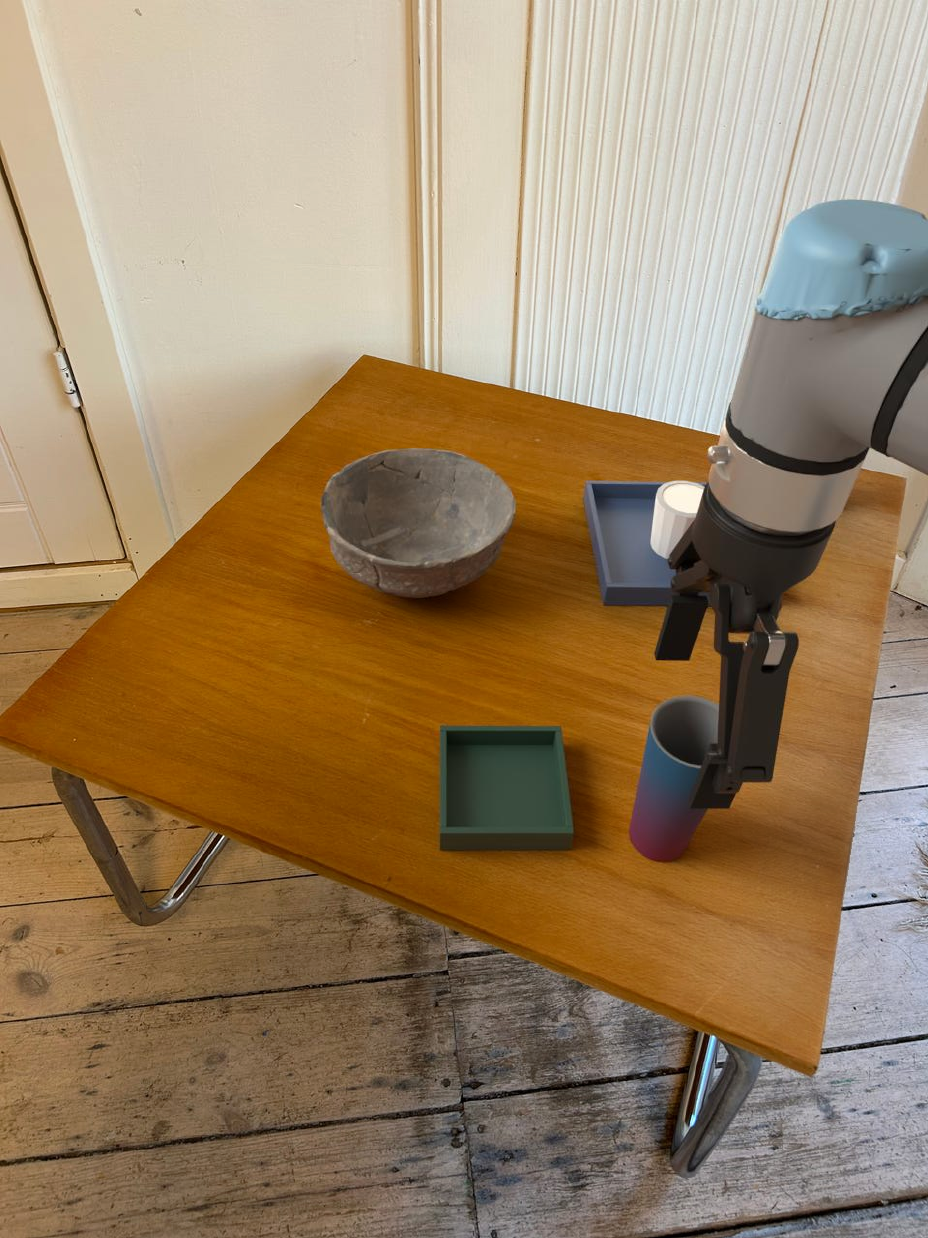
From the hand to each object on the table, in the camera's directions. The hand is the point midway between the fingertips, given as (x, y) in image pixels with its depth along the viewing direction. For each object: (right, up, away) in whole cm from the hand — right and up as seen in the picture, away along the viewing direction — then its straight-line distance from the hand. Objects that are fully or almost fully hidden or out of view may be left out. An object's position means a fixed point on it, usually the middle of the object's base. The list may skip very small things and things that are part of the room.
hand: (688, 725), depth 64 cm
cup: (0, -11, +11) cm, 15 cm away
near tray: (-13, -8, +13) cm, 20 cm away
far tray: (+8, +16, +38) cm, 42 cm away
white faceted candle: (+8, +17, +37) cm, 42 cm away
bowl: (-22, +14, +34) cm, 43 cm away
